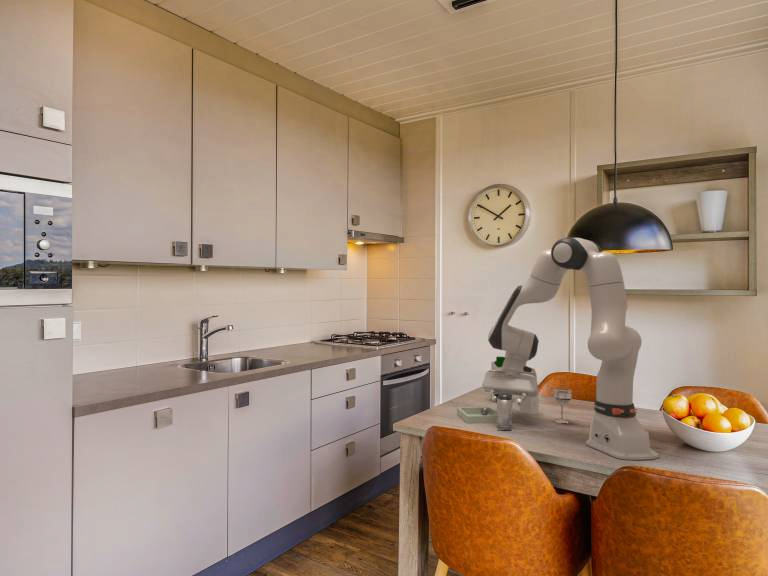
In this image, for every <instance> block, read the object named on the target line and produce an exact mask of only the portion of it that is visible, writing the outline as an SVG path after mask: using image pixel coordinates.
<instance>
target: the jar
mask: <svg viewBox="0 0 768 576" xmlns="http://www.w3.org/2000/svg"><path fill="white" fill-rule="evenodd" d="M515 397H516V398H515V400H516V401H515V411H517V412H518V413H520V414H528V415H534V416H537V415H539V409H540V408H539V407H540V405H539V401H540V392H539V390H538V394H537V396H536V397H527V398H526V400H524V401H523V403H522V406H521V405H518V404H517V401H518V399H521V397H522V396H518V395H515Z"/></svg>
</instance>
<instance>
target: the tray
mask: <svg viewBox="0 0 768 576" xmlns="http://www.w3.org/2000/svg"><path fill="white" fill-rule="evenodd" d="M484 407H486V408H488V410H489V413H488V414H487V415H483V414H482V413H481V409H482V408H484ZM456 415H458V417H460V418H461V419H462V420H463V421H464V422H465V423H466V424H497V409H495V408H494V407H492V406H463V407H462V406H461V407H460V406H458V407H456Z"/></svg>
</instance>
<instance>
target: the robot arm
mask: <svg viewBox="0 0 768 576" xmlns="http://www.w3.org/2000/svg"><path fill="white" fill-rule="evenodd" d="M569 270H573V271H582V272H584V274H585V276H586V280H587V287H588V294H589V301H590V307H591V323H590V334H589V338H588V339H587V349H588V352H589V353H590V355H591V356H593V358H595V359H596V360H599V361H601V362H600V363H601V365H600V366H599V370H598V373H597V375H596V385H595V386H596V389H595V391H596V392H595V393H596V394H595V396H596V397H595V399H594V403H593V405H594V408H593V409H594V415H593V417H592V418H591V421H590V427H589V436H588V439H587V440H586V441H585V445H587V446H589V447H591V448H593V449H596V450H597V451H600V452H602V453H605V454H606V455H609V456H611V457H614V458H616V459H619V460H631V461H637V460H638V461H639V460H641V461H643V460H645V461H646V460H654V459H658V458H659V457H660V456H659V453H658V452H657V451H655V450H654V449H652V448H651V443H650V433H649V431H647V430H645V428H644V427H643V425H642V424H641V423H640V421H639V420H638V418H637V413H638V408H637V409H636V407H635V403H634V402H633V401H634V400H633V398H634V393H633V392H634V377H635V372H636V367H637V363H638V359H639V352H640V349H641V347H642V342H643V341H642V337H641V335H640V333H639V332H638V331H637V330H636V329H634V328H632V327H630V326H627V325H626V315H627V310H628V305H629V304H628V300H627V299H628V298H627V294H626V288H625V283H624V282H625V281H624V276H623V272H622V269H621V266H620V262H619V261H618V258H617V256H616V255H615V254H613V253H611V252H608V251H603V250H602V247H600V245H599V244H598V243H596V242H595V241H593V240H591V239H590V240H589V239H584V238H581V237H563V238H561V239H558V240H557V241H555V243H554V244H553V245H552V247H551V248H549V249H545V250H543V251H542V252H540V254H539V256H538V257H537V259H536V261H535V264H534V266H533V268H532V269H531V273H530V275H529V278H528V280H527V281H526V282H525V283H523V284H522V285H518V286H516V288H514V291H513V292H512V294H511V296H510V297H509V299H508V300H507V302H506V304H505V306H504V307H503V309H502V310H501V311H502V312H501V314H500V315H499V317H498V319H497V321H495V323H494V324H493V326H492V328H490V331H489V333H488V338H487V341H488V343H489V344H490V346H491V348H493V349H494V350H495V349H496V350H500V351H505V354H504V355H505V356H504V357H505V360H504V362H503V366H502V370H501V371H497V370H496V371H494V370H492V369H490V370H488V371H486V372H485V374H484V379H483V381H482V384H481V386H482V390H483V391H484V392H485V393H490V395H492V403H497V402H496V400H497V398H496V396H494V395H495V393H501V394H502V393H504V394H510V395H512V396H516V395H518V396H522V397H521V399H518V401H517V404H518V405H521V406H522V403H523V401H524V400H526V398H527V397H536V396H537V394H538V391H539V384H538V380H537V379H538V376H537V372H536V369H535V368H534V367H530V366H527V362H528V361H531V360H532V359H534V358H535V357H536V355H537V352H538V348H539V343H540V342H539V339H538V336H537V334H535V333H533V332H532V331H527V330H524V329H520V328H518V327H514V326H512V325H510V324H509V323H510V321H511V319H512V318H513V316H514V314H515V312H516V311H517V309H518V308H519V307H521V306H523V305H527V304H542V303H545V302H549V301H551V300H552V299H554V298H555V297H556V296H557V293H558V291H559V289H560V287H561V284H562V281H563V279H564V276H565V274H566V273H567V271H569Z"/></svg>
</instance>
